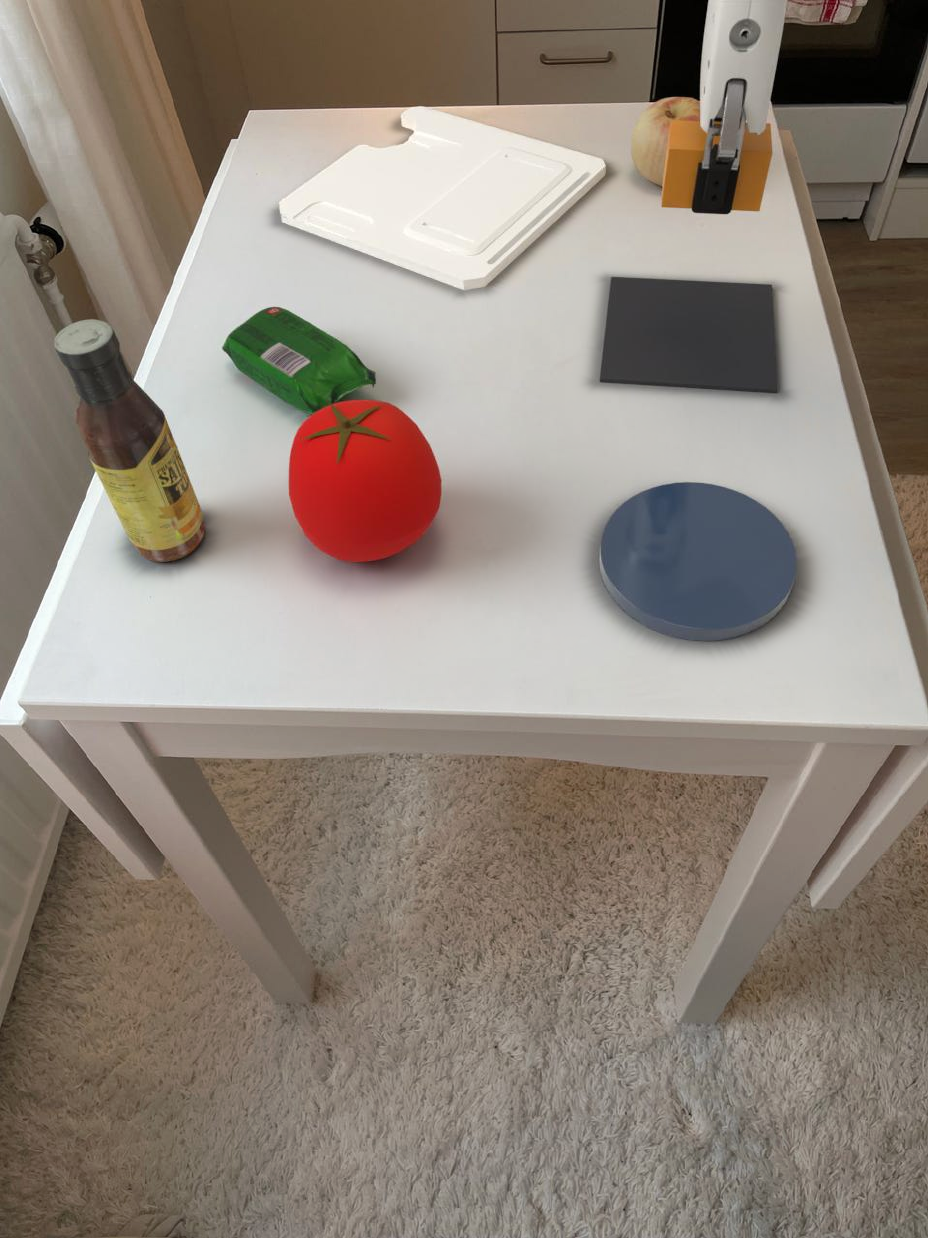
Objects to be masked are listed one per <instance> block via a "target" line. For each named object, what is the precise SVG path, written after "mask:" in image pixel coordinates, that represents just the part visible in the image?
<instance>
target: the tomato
mask: <svg viewBox="0 0 928 1238" xmlns="http://www.w3.org/2000/svg"><path fill="white" fill-rule="evenodd" d="M329 404H330V405H329V406H327V407H324V408H322V409H321V410H319V411H317V412H316V413H314V414H313V415H312V414H310V416H309V417H308V418H306V419H305V420H304V421H303V422H302V423H301V425H300V426H299V428H298V429H297V430H296V433H295V435H294V438H293V441H292V445H291V448H290V454H289V459H288V460H289V461H288V497H289V500H290V504H291V508H292V511H293V515H294V518H295V519H296V521H297V523H298V525H299V527H300V528H301V531H302V532H303V534H304V536H305V537H306V538H307V539H308V540H309V541H310V542H311V543H312V544H313V546H315V547H316V548H317V549H318V550H319V551H321V552H322V553H325V554H326V555H328V556H330V557H332V558H334V559H335V560H340V561H342V562H349V563H364V562H365V563H366V562H372V561H379V560H383V559H386V558H389V557H392V556H394V555H396V554H398V553H401V552H402V551H404V550H405V549H407V548H408V547H410V546H412V545H414V544H415V543H416V542H417V541H418V540H419V539H420V538H421V537H422V536H423V535H425V533H426V532H427V531H428V530H429V528H431V525H432V524H433V522H434V520H435V518H436V516H437V514H438V512H439V509H440V507H441V501H442V476H441V470H440V467H439V464H438V462H437V459H436V456H435V453H434V451H433V448H432V447H431V444H430V443H429V441H428V439H427V438H426V437H425V435H424V433H423V432H422V429H420V428H419V426H418V424H417V423H416V422H415V421H414V420H413V419H412V417H409V416H408V414H406V413H405V412H404V411H403V410H402V409H400V408H399V407H398V406H396V405H394V404H392V403H390V402H387V401H382V400H375V399H353V400H343V401H338V402H337V403H335V404H331V403H330V402H329Z"/></svg>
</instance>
